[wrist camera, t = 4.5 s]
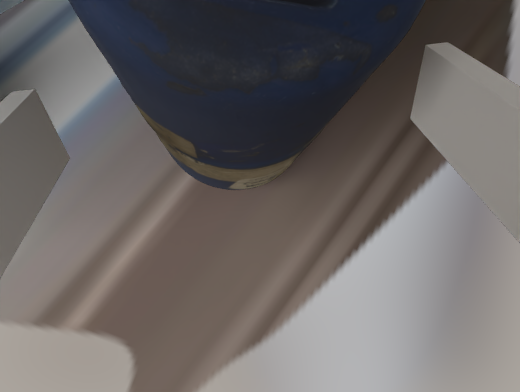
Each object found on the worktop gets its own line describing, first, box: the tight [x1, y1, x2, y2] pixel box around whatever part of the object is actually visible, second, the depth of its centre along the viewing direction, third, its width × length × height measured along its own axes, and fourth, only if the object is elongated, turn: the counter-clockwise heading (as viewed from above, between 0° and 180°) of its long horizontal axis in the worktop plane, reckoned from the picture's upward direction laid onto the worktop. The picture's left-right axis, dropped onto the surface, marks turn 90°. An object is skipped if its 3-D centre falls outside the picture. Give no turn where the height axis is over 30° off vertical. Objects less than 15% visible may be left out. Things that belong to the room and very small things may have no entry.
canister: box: [69, 0, 426, 190], centre depth 15 cm, size 10×10×18 cm
